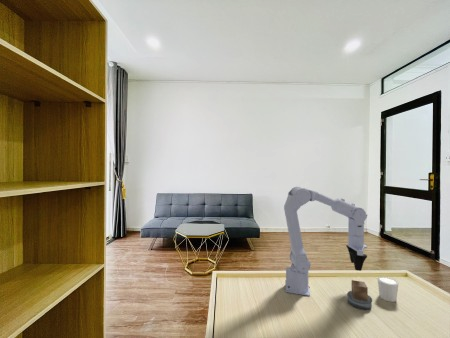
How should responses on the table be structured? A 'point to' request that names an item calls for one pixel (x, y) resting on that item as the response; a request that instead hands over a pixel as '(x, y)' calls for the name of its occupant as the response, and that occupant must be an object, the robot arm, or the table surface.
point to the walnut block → (359, 290)
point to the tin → (359, 302)
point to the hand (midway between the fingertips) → (355, 266)
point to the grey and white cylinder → (388, 288)
